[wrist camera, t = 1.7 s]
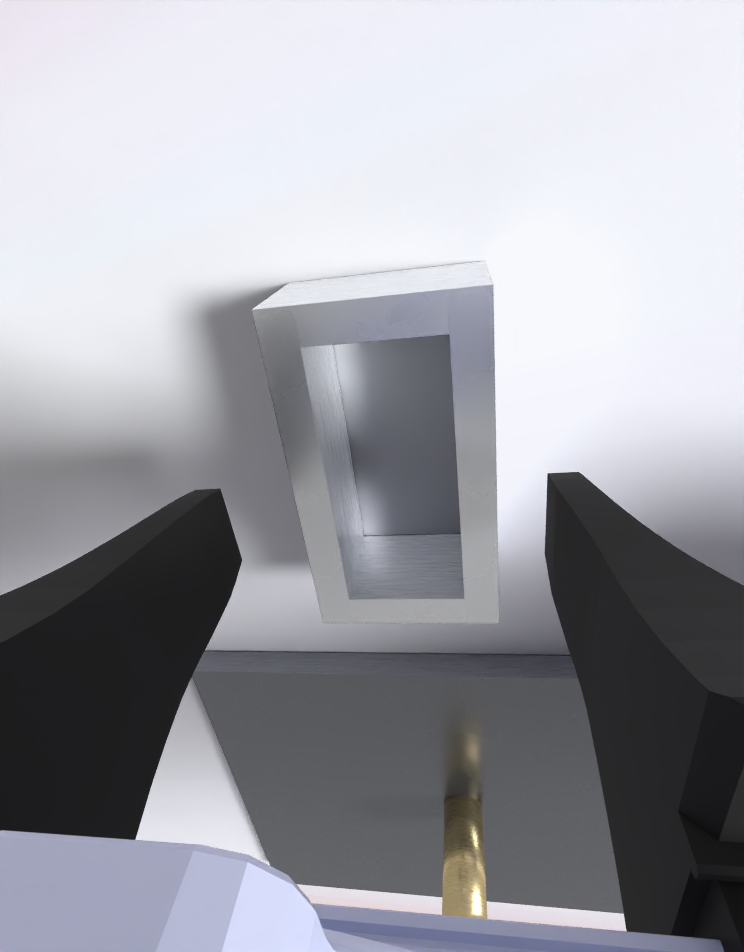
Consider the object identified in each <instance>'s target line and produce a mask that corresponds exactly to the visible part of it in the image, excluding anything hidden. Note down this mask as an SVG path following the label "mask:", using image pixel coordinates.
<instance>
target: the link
mask: <svg viewBox="0 0 744 952" xmlns="http://www.w3.org/2000/svg"><path fill="white" fill-rule="evenodd" d="M252 313H253V318H254V322H255V327H256V331H257V335H258V340H259V344H260V348H261V353H262V357H263V361H264V366H265V370H266V375H267V379H268V383H269V388H270V392H271V396H272V401H273V405H274V410H275V414H276V418H277V423H278V427H279V431H280V436H281V440H282V445H283V449H284V453H285V458H286V462H287V466H288V471H289V475H290V479H291V484H292V488H293V493H294V497H295V501H296V506H297V510H298V514H299V519H300V523H301V528H302V532H303V536H304V541H305V545H306V549H307V554H308V558H309V563H310V567H311V571H312V576H313V580H314V584H315V589H316V593H317V597H318V602H319V606H320V611H321V615H322V619H323V623H499V592H498V533H497V475H496V417H495V359H494V300H493V282H492V279H491V276H490V273H489V270H488V267H487V264H486V261H479V262H471V263H462V264H453V265H444V266H435V267H426V268H417V269H408V270H400V271H391V272H382V273H373V274H364V275H355V276H346V277H337V278H328V279H320V280H311V281H302V282H293V283H288V284H287V285H285V286H284V287H282V288H281V289H280V290H278V291H277V292H276V293H274V294H273V295H271V296H270V297H269V298H267V299H266V300H264V301H263V302H262V303H260V304H259V305H257V306H256V307H255V308H253V309H252ZM447 334H449V336H450V353H451V371H452V388H453V406H454V423H455V441H456V458H457V476H458V493H459V511H460V529H461V534H436V535H398V536H364V532H363V526H362V520H361V514H360V507H359V501H358V495H357V489H356V483H355V477H354V471H353V464H352V458H351V452H350V446H349V440H348V434H347V428H346V421H345V415H344V409H343V403H342V397H341V391H340V385H339V378H338V372H337V366H336V360H335V354H334V348H333V345H337V344H348V343H359V342H370V341H381V340H392V339H403V338H414V337H425V336H436V335H447Z"/></svg>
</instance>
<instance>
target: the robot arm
mask: <svg viewBox="0 0 744 952" xmlns="http://www.w3.org/2000/svg"><path fill="white" fill-rule="evenodd" d="M545 557H546V563H547V569H548V575H549V581H550V586H551V592H552V596H553V600H554V603H555V606H556V609H557V613H558V616H559V619H560V622H561V626H562V629H563V632H564V635H565V639H566V642H567V645H568V648H569V651H570V654H571V658H572V661H573V664H574V667H575V670H576V674H577V677H578V680H579V683H580V686H581V690H582V694H583V698H584V701H585V705H586V709H587V714H588V719H589V724H590V729H591V734H592V739H593V744H594V749H595V754H596V759H597V764H598V769H599V775H600V780H601V785H602V790H603V796H604V801H605V806H606V812H607V817H608V823H609V829H610V834H611V840H612V846H613V852H614V857H615V863H616V869H617V874H618V880H619V886H620V893H621V899H622V905H623V911H624V917H625V923H626V929H627V932H626V931H614V930H603V929H592V928H581V927H570V926H558V925H547V924H536V923H525V922H514V921H503V920H491V919H480V918H469V917H458V916H447V915H436V914H424V913H413V912H402V911H391V910H380V909H369V908H357V907H346V906H335V905H324V904H313V903H311V902H310V900H309V899H308V898H307V896H306V895H305V894H304V893H303V892H302V891H301V890H300V888H299V887H298V886H297V885H296V884H295V883H294V881H293V880H292V879H291V878H290V877H289V876H288V875H287V874H285V873H283V872H281V871H279V870H277V869H275V868H273V867H271V866H269V865H267V864H265V863H263V862H261V861H259V860H257V859H255V858H253V857H251V856H249V855H246V854H242V853H237V852H232V851H228V850H223V849H218V848H213V847H209V846H204V845H196V844H182V843H168V842H155V841H141V840H135V839H136V835H137V832H138V829H139V825H140V822H141V818H142V815H143V812H144V808H145V805H146V801H147V798H148V795H149V791H150V788H151V785H152V782H153V779H154V776H155V773H156V770H157V767H158V764H159V761H160V758H161V755H162V752H163V749H164V746H165V743H166V740H167V737H168V734H169V732H170V729H171V726H172V724H173V721H174V718H175V715H176V713H177V710H178V707H179V704H180V702H181V699H182V697H183V695H184V692H185V690H186V688H187V686H188V683H189V681H190V679H191V677H192V675H193V673H194V671H195V669H196V667H197V665H198V663H199V661H200V659H201V657H202V655H203V653H204V651H205V649H206V647H207V645H208V643H209V641H210V639H211V637H212V635H213V633H214V631H215V629H216V627H217V625H218V622H219V620H220V618H221V616H222V614H223V612H224V610H225V608H226V606H227V604H228V601H229V599H230V597H231V594H232V591H233V588H234V585H235V582H236V579H237V576H238V572H239V569H240V566H241V562H242V558H241V555H240V552H239V548H238V545H237V542H236V539H235V535H234V532H233V529H232V525H231V522H230V519H229V516H228V512H227V509H226V506H225V502H224V499H223V496H222V493H221V489H207V490H195V491H193V492H190V493H188V494H186V495H184V496H182V497H181V498H179V499H177V500H175V501H174V502H172V503H170V504H168V505H167V506H165V507H163V508H162V509H160V510H159V511H157V512H155V513H154V514H152V515H150V516H149V517H147V518H146V519H144V520H142V521H141V522H139V523H137V524H136V525H134V526H133V527H131V528H129V529H128V530H126V531H125V532H123V533H121V534H120V535H118V536H116V537H115V538H113V539H111V540H109V541H108V542H106V543H104V544H102V545H101V546H99V547H97V548H95V549H94V550H92V551H90V552H88V553H87V554H85V555H83V556H82V557H80V558H78V559H76V560H74V561H73V562H71V563H69V564H67V565H65V566H63V567H61V568H59V569H57V570H55V571H53V572H51V573H49V574H47V575H45V576H43V577H41V578H39V579H37V580H35V581H33V582H31V583H28V584H26V585H24V586H22V587H20V588H17V589H15V590H13V591H10V592H8V593H5V594H3V595H1V596H0V952H744V586H743V585H741V584H739V583H737V582H735V581H733V580H731V579H729V578H728V577H726V576H724V575H722V574H720V573H719V572H717V571H715V570H713V569H712V568H710V567H708V566H706V565H704V564H703V563H701V562H699V561H697V560H696V559H694V558H692V557H691V556H689V555H687V554H686V553H684V552H683V551H681V550H679V549H678V548H676V547H675V546H673V545H672V544H670V543H669V542H667V541H666V540H665V539H663V538H662V537H660V536H659V535H657V534H656V533H654V532H653V531H651V530H650V529H649V528H647V527H646V526H645V525H643V524H642V523H641V522H639V521H638V520H637V519H635V518H634V517H633V516H631V515H630V514H629V513H628V512H626V511H625V510H624V509H622V508H621V507H620V506H619V505H618V504H616V503H615V502H614V501H613V500H611V499H610V498H609V497H608V496H607V495H605V494H604V493H603V492H602V491H601V490H600V489H598V488H597V487H596V486H595V485H594V484H593V483H591V482H590V481H589V480H588V479H587V478H586V477H584V476H583V475H582V474H581V473H579V472H570V473H548V480H547V508H546V536H545Z"/></svg>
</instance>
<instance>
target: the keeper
mask: <svg viewBox="0 0 744 952" xmlns="http://www.w3.org/2000/svg"><path fill="white" fill-rule="evenodd" d="M192 677H193V679H194V682H195V684H196V687H197V689H198V691H199V694H200V696H201V699H202V701H203V704H204V706H205V708H206V711H207V713H208V716H209V718H210V720H211V723H212V725H213V728H214V730H215V733H216V735H217V737H218V740H219V742H220V745H221V747H222V749H223V752H224V754H225V757H226V759H227V762H228V764H229V766H230V769H231V771H232V774H233V776H234V779H235V781H236V783H237V786H238V788H239V791H240V793H241V795H242V798H243V800H244V803H245V805H246V808H247V810H248V812H249V815H250V817H251V820H252V822H253V824H254V827H255V829H256V832H257V834H258V837H259V839H260V841H261V844H262V846H263V849H264V851H265V854H266V856H267V858H268V861H269V863H270V866H271V867H273V868H275V869H277V870H279V871H281V872H283V873H285V874H287V875H288V876H289V877H290V878H291V879H292V880H293V881H294V883H295V884H302V885H313V886H324V887H335V888H346V889H357V890H368V891H380V892H391V893H402V894H413V895H424V896H435V897H443V903H442V915H447V916H458V917H469V918H480V919H487V902H486V901H490V902H501V903H512V904H524V905H535V906H546V907H557V908H568V909H579V910H590V911H601V912H612V913H623V914H624V911H623V905H622V899H621V893H620V886H619V880H618V874H617V869H616V863H615V857H614V852H613V846H612V840H611V834H610V829H609V823H608V817H607V812H606V806H605V801H604V796H603V790H602V785H601V780H600V775H599V769H598V764H597V759H596V754H595V749H594V744H593V739H592V734H591V729H590V724H589V719H588V714H587V709H586V705H585V701H584V698H583V694H582V690H581V686H580V683H579V680H578V677H577V674H576V670H575V667H574V664H573V661H572V658H571V656H560V655H478V654H396V653H314V652H233V651H204V653H203V655H202V657H201V659H200V661H199V663H198V665H197V667H196V669H195V671H194V673H193V675H192Z"/></svg>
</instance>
